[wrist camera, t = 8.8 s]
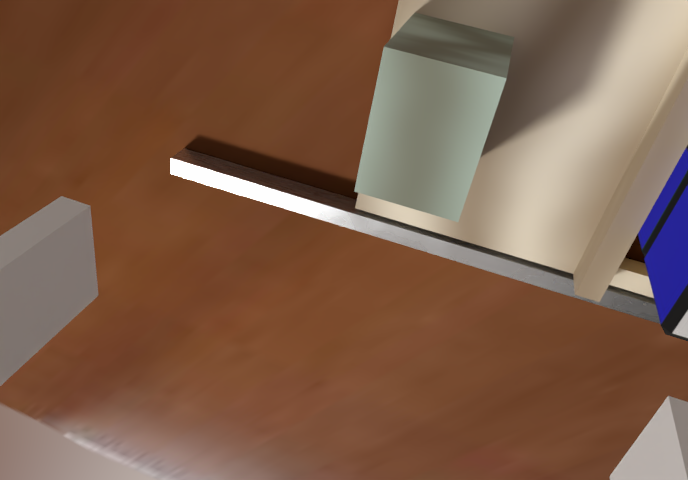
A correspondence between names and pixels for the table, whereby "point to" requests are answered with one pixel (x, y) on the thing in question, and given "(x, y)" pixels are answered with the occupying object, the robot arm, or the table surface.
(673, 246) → the puzzle cube
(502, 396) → the table surface
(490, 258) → the light grey flat piece
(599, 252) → the board with grey block
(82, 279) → the robot arm
